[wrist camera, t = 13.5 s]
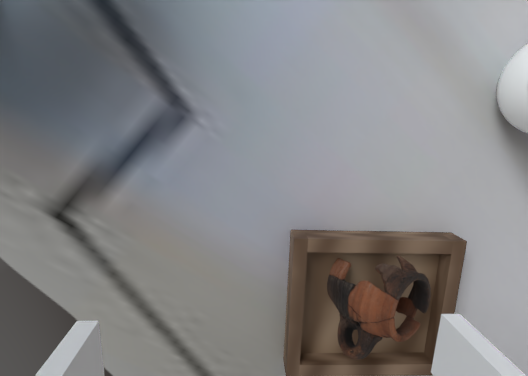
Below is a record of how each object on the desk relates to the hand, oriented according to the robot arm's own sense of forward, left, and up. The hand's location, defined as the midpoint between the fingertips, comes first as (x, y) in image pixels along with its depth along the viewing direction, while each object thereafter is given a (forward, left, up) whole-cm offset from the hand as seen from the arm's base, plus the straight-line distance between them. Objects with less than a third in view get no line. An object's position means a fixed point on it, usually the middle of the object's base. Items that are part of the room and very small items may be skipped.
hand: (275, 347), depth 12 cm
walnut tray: (+13, -12, -24) cm, 30 cm away
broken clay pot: (+13, -11, -24) cm, 29 cm away
